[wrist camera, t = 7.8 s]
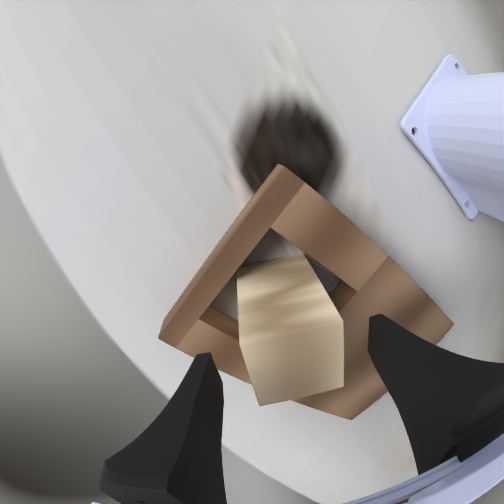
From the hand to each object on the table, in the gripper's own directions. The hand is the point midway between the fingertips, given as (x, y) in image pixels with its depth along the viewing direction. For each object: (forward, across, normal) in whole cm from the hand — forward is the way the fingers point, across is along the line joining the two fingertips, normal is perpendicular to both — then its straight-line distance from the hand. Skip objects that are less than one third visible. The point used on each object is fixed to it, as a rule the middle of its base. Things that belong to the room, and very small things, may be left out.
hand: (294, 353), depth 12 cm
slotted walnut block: (+6, -3, +3) cm, 7 cm away
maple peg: (+6, 0, 0) cm, 6 cm away
